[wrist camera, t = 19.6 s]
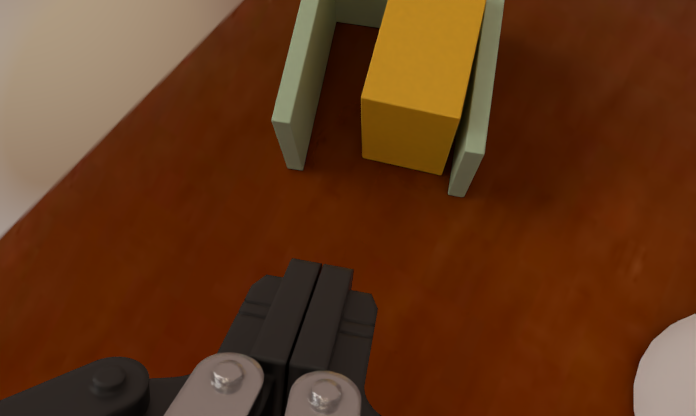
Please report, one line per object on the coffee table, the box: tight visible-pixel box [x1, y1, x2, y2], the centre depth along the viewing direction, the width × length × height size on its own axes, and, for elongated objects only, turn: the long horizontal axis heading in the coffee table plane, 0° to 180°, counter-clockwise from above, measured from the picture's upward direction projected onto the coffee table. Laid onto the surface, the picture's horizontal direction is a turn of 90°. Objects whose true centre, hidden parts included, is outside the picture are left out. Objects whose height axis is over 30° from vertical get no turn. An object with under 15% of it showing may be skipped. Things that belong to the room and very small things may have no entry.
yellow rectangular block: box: [361, 0, 486, 175], centre depth 31 cm, size 7×5×7 cm, turn 166°
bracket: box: [272, 0, 504, 197], centre depth 31 cm, size 11×10×7 cm
